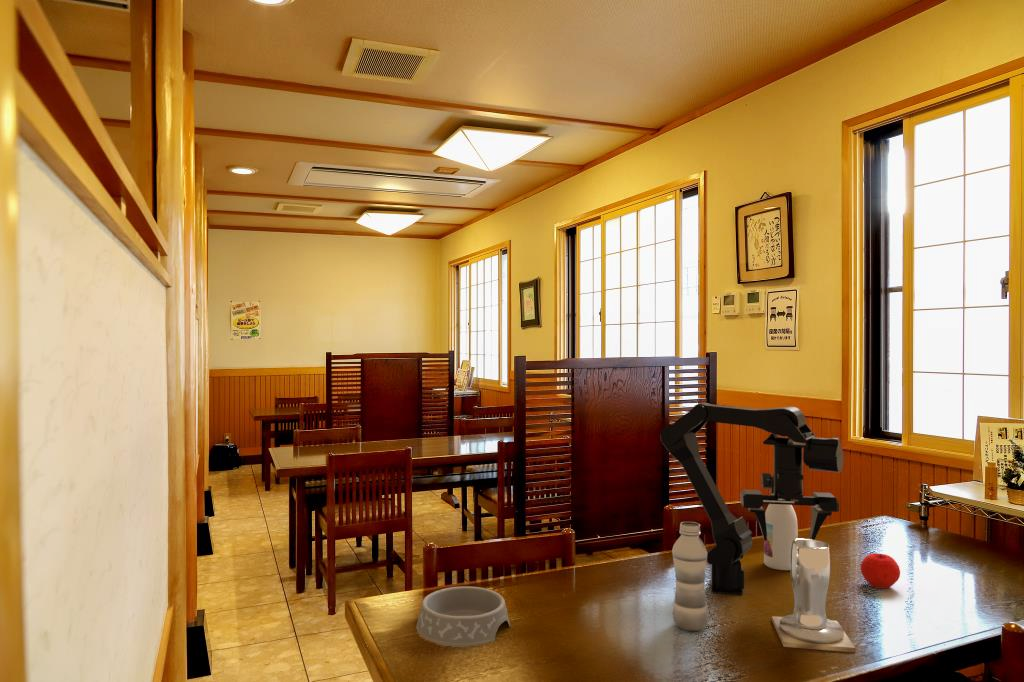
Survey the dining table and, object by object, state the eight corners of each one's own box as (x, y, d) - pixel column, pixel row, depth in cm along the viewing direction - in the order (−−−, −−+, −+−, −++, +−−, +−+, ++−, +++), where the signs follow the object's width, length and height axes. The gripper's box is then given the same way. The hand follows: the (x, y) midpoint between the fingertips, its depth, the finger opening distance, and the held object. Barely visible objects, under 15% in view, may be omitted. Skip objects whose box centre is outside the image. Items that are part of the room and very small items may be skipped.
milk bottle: (800, 564, 169) (800, 483, 169) (794, 573, 163) (794, 489, 163) (767, 559, 173) (767, 480, 173) (760, 567, 167) (760, 485, 167)
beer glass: (834, 632, 125) (834, 549, 125) (793, 628, 126) (794, 547, 127) (825, 617, 132) (825, 539, 132) (786, 614, 133) (787, 537, 133)
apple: (883, 595, 148) (883, 561, 148) (851, 583, 155) (851, 551, 155) (908, 590, 151) (908, 556, 151) (876, 579, 159) (876, 547, 159)
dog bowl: (522, 618, 137) (522, 591, 137) (481, 656, 121) (481, 625, 121) (448, 604, 144) (448, 579, 144) (399, 639, 128) (399, 610, 128)
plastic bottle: (703, 638, 127) (702, 530, 127) (667, 630, 130) (667, 525, 130) (712, 626, 132) (712, 522, 132) (678, 618, 136) (678, 518, 136)
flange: (786, 641, 124) (786, 635, 124) (774, 617, 134) (774, 611, 134) (851, 646, 122) (851, 640, 122) (834, 621, 132) (834, 616, 132)
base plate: (783, 646, 123) (783, 642, 123) (771, 620, 135) (771, 616, 135) (855, 652, 121) (855, 647, 121) (837, 625, 133) (837, 620, 133)
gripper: (825, 461, 150) (826, 533, 150) (736, 459, 154) (737, 528, 154) (839, 471, 139) (840, 548, 139) (743, 468, 143) (743, 543, 143)
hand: (788, 541), depth 144 cm, fingers open, 9 cm apart
